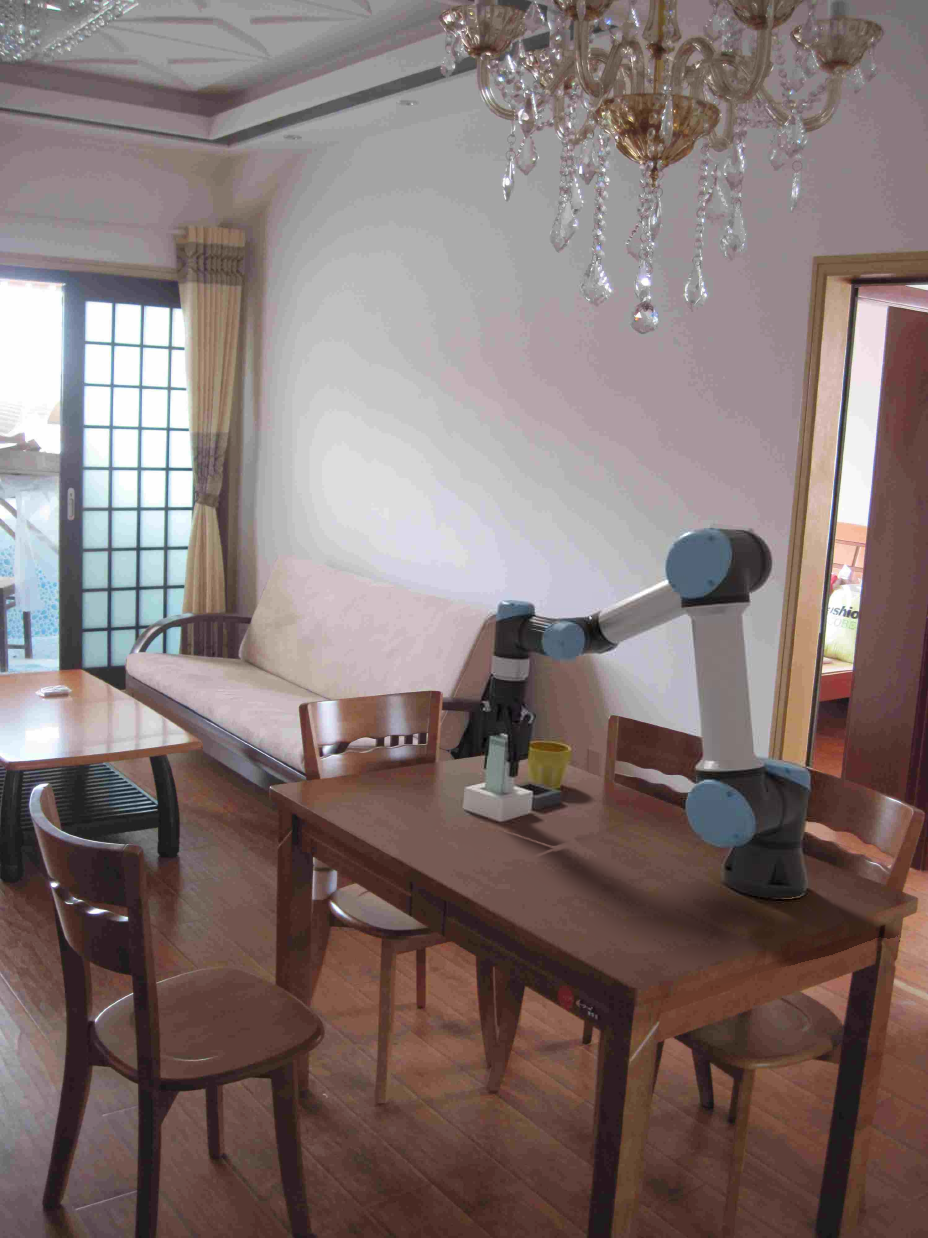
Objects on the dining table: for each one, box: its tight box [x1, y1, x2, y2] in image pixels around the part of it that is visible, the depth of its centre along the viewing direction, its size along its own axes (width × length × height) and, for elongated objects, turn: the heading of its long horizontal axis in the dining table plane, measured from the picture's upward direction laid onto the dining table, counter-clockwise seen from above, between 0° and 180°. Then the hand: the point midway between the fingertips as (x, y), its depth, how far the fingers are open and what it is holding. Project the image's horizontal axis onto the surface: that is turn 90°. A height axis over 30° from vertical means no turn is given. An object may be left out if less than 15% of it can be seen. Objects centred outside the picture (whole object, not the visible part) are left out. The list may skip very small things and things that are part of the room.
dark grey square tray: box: [514, 780, 563, 811], centre depth 246 cm, size 9×9×3 cm
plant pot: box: [525, 740, 572, 790], centre depth 259 cm, size 10×10×10 cm
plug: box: [485, 733, 513, 796], centre depth 235 cm, size 4×4×14 cm
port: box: [462, 782, 533, 822], centre depth 236 cm, size 10×10×6 cm
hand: (499, 788), depth 236 cm, fingers closed on plug, 4 cm apart
